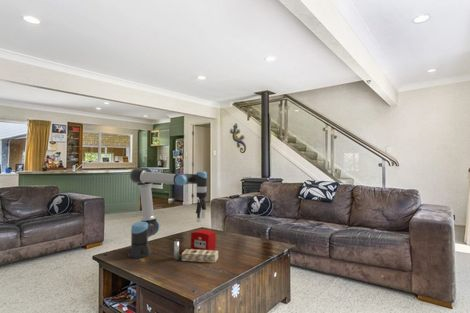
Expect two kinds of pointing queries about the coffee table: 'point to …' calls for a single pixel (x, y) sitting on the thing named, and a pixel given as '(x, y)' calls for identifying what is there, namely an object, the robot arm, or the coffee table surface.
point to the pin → (176, 250)
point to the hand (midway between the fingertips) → (201, 220)
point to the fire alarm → (203, 240)
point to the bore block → (200, 255)
